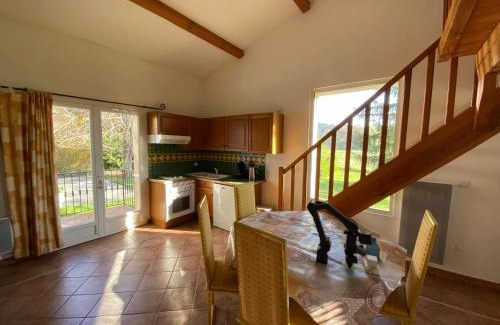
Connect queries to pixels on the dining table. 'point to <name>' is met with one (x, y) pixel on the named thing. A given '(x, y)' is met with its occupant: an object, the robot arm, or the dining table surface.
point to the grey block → (372, 261)
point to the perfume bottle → (373, 248)
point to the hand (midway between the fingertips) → (349, 265)
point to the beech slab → (370, 268)
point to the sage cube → (347, 265)
